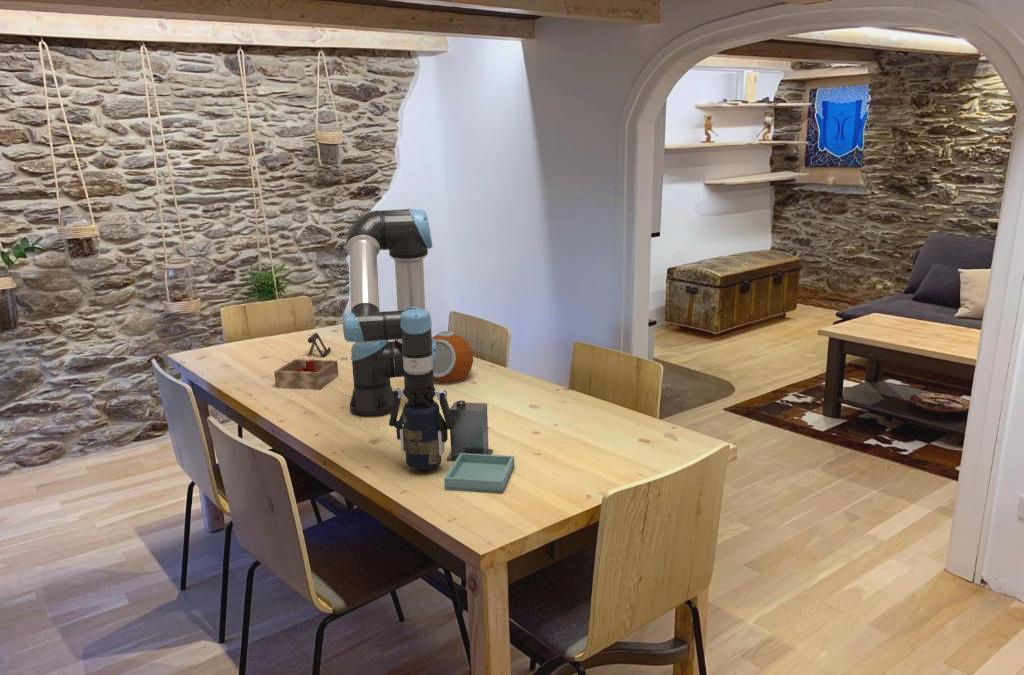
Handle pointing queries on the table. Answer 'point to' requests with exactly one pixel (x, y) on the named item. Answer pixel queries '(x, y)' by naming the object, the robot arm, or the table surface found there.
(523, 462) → the table surface
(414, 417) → the canister
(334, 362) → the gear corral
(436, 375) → the alarm clock
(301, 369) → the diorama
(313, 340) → the portable electronic device stand
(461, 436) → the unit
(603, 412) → the table surface
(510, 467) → the tray
